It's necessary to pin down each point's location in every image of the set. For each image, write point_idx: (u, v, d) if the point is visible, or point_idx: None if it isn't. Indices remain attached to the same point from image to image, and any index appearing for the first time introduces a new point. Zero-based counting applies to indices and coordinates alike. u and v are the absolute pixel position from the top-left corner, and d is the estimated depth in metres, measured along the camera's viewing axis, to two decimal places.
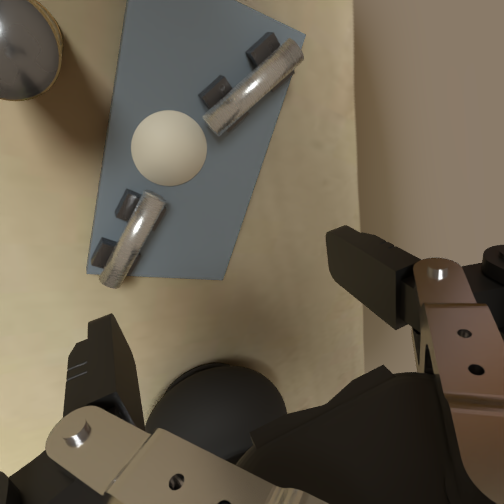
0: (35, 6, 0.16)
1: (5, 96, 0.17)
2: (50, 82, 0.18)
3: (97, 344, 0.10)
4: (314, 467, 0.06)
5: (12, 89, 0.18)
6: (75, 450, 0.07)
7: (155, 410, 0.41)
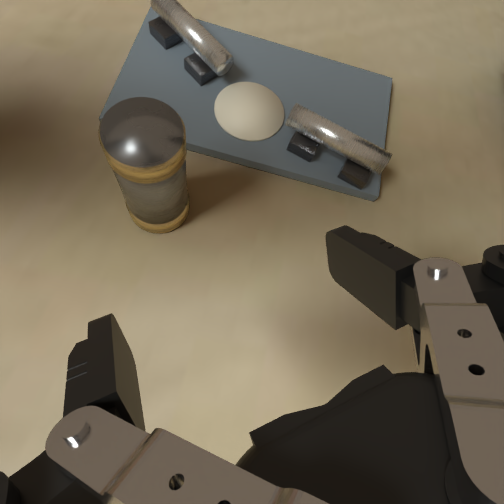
0: None
1: (181, 137, 0.21)
2: (170, 107, 0.21)
3: (97, 344, 0.10)
4: (314, 467, 0.06)
5: (176, 134, 0.21)
6: (75, 450, 0.07)
7: None
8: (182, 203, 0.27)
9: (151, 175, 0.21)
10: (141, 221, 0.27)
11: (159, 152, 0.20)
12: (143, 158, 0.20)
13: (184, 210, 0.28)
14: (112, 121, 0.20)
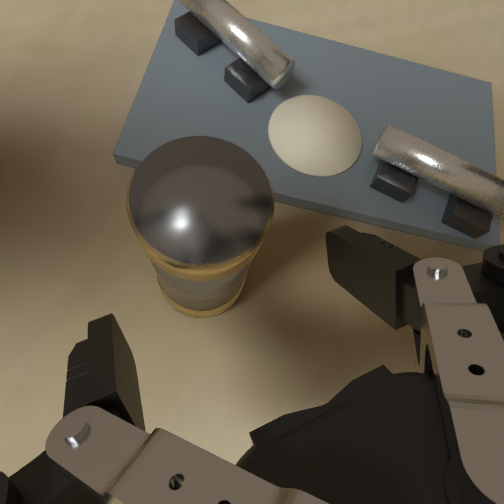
0: None
1: (269, 205, 0.12)
2: (244, 151, 0.12)
3: (97, 344, 0.10)
4: (314, 467, 0.06)
5: (259, 198, 0.12)
6: (75, 450, 0.07)
7: None
8: (243, 281, 0.18)
9: (219, 272, 0.12)
10: (182, 307, 0.19)
11: (235, 235, 0.11)
12: (208, 248, 0.11)
13: (242, 286, 0.19)
14: (150, 182, 0.12)
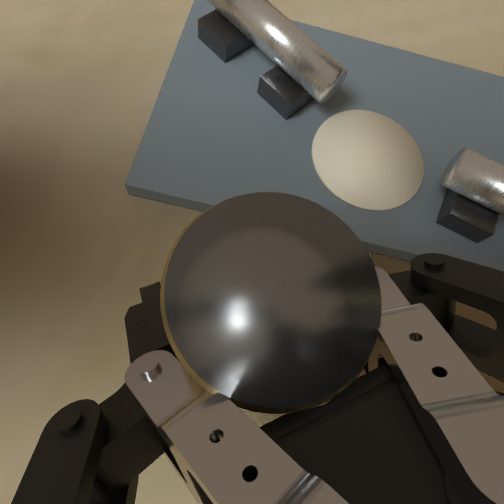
0: None
1: (376, 302, 0.08)
2: (333, 215, 0.08)
3: (152, 305, 0.11)
4: (314, 467, 0.06)
5: (357, 289, 0.08)
6: (153, 382, 0.08)
7: None
8: None
9: None
10: None
11: (331, 356, 0.07)
12: (292, 382, 0.07)
13: None
14: (196, 270, 0.07)
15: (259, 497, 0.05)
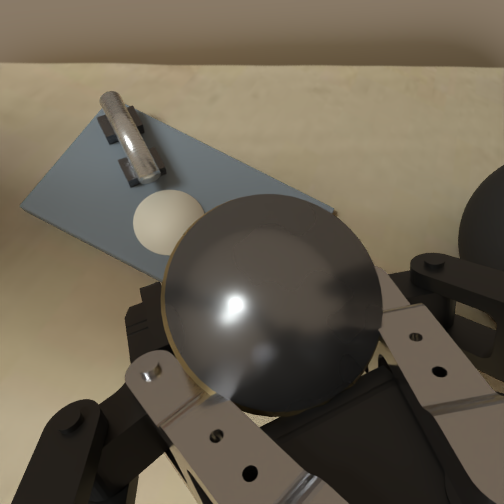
0: None
1: (377, 305, 0.08)
2: (334, 217, 0.08)
3: (152, 305, 0.11)
4: (314, 467, 0.06)
5: (359, 291, 0.08)
6: (153, 382, 0.08)
7: None
8: None
9: None
10: None
11: (332, 359, 0.07)
12: (293, 385, 0.07)
13: None
14: (196, 273, 0.07)
15: (259, 497, 0.05)
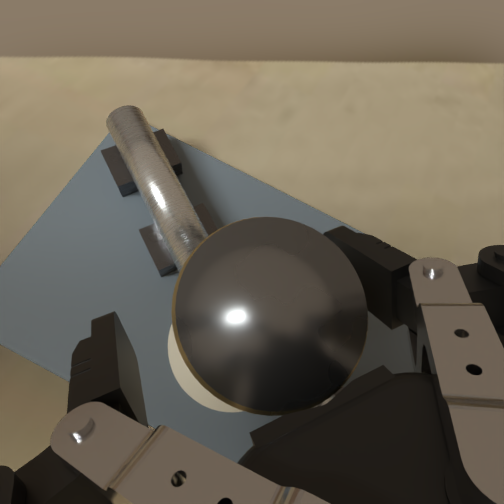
0: None
1: (363, 317, 0.09)
2: (325, 238, 0.09)
3: (100, 341, 0.10)
4: (314, 467, 0.06)
5: (347, 305, 0.09)
6: (80, 445, 0.07)
7: None
8: None
9: None
10: None
11: (322, 365, 0.08)
12: (288, 388, 0.08)
13: None
14: (203, 289, 0.08)
15: None
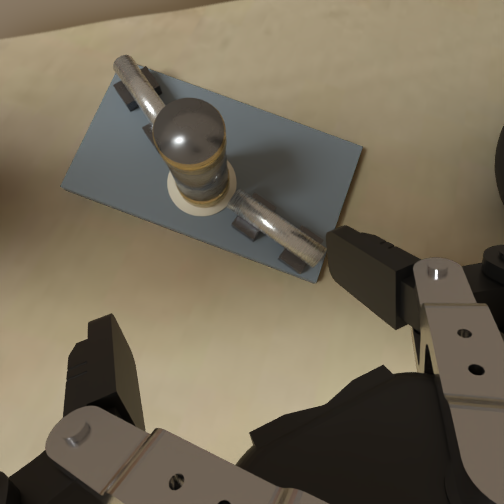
0: (161, 111, 0.24)
1: (222, 130, 0.24)
2: (207, 103, 0.24)
3: (97, 344, 0.10)
4: (314, 467, 0.06)
5: (217, 127, 0.24)
6: (75, 450, 0.07)
7: None
8: (225, 179, 0.30)
9: (203, 167, 0.24)
10: (193, 200, 0.31)
11: (207, 147, 0.23)
12: (195, 155, 0.23)
13: (227, 184, 0.32)
14: (162, 126, 0.24)
15: None
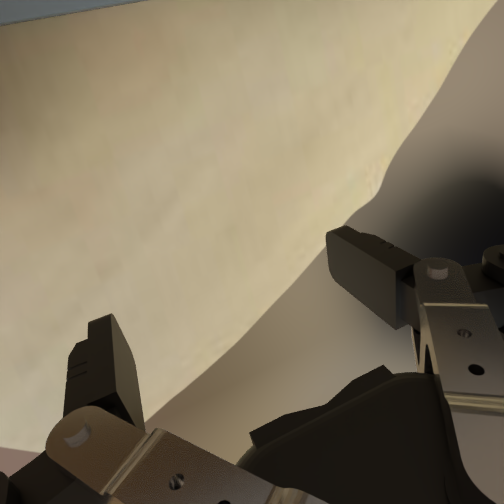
0: None
1: None
2: None
3: (97, 344, 0.10)
4: (314, 467, 0.06)
5: None
6: (75, 450, 0.07)
7: None
8: None
9: None
10: None
11: None
12: None
13: None
14: None
15: None
